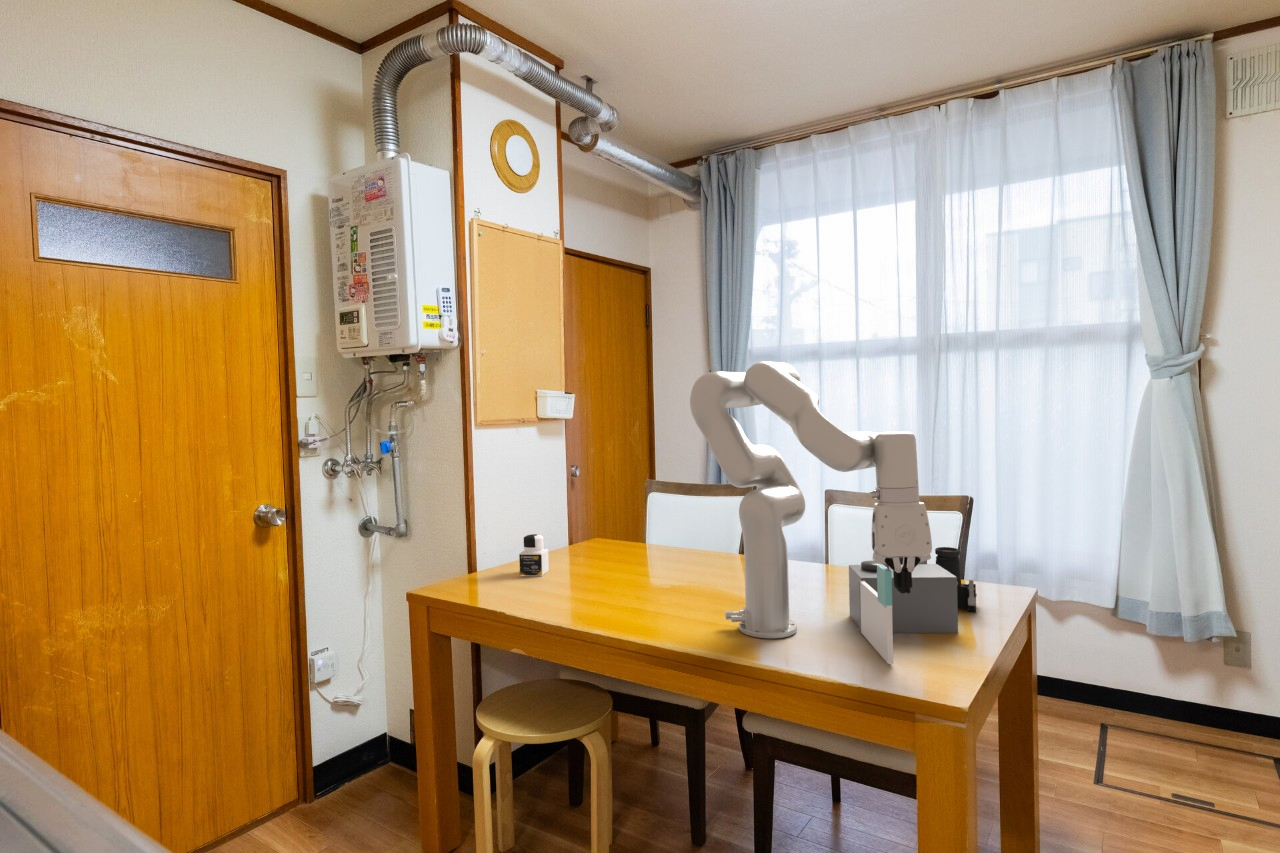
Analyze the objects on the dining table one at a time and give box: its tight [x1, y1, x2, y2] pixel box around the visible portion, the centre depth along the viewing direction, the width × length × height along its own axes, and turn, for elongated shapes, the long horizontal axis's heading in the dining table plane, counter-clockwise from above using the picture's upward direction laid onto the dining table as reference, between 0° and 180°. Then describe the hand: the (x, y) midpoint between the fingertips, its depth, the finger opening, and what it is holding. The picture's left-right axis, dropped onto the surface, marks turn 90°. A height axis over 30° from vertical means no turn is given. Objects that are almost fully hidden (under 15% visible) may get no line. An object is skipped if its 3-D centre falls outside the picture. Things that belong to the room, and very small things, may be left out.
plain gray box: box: [848, 560, 959, 634], centre depth 150 cm, size 20×12×13 cm, turn 85°
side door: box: [858, 565, 894, 665], centre depth 135 cm, size 19×1×18 cm, turn 177°
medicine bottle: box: [518, 533, 550, 577], centre depth 207 cm, size 7×7×12 cm
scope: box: [934, 546, 978, 613], centre depth 161 cm, size 8×14×10 cm
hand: (903, 591), depth 128 cm, fingers closed
